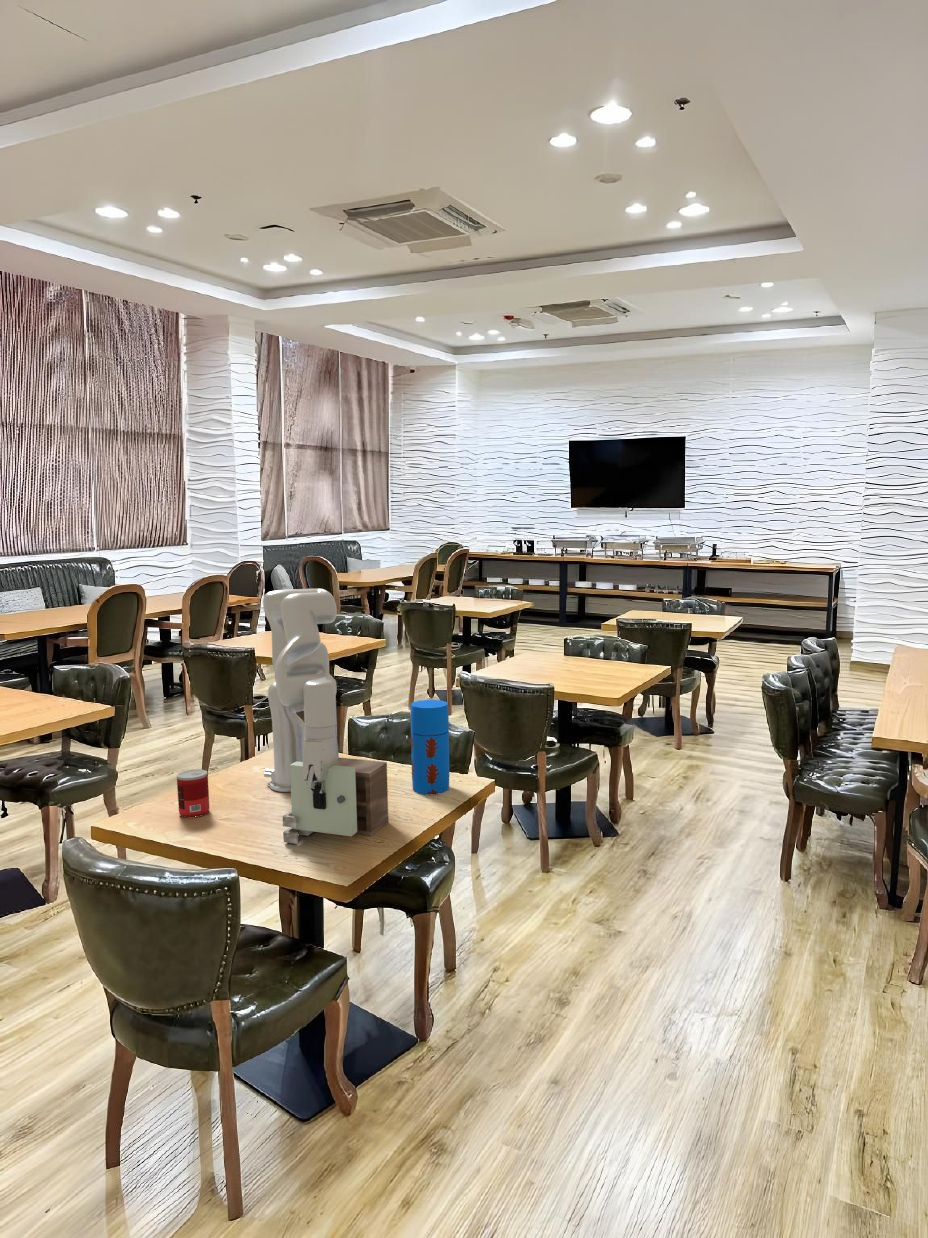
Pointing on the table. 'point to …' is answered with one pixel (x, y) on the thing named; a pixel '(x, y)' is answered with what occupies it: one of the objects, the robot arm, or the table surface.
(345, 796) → the door
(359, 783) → the cabinet
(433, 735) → the thermos
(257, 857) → the table surface
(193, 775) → the canned food
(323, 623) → the robot arm
